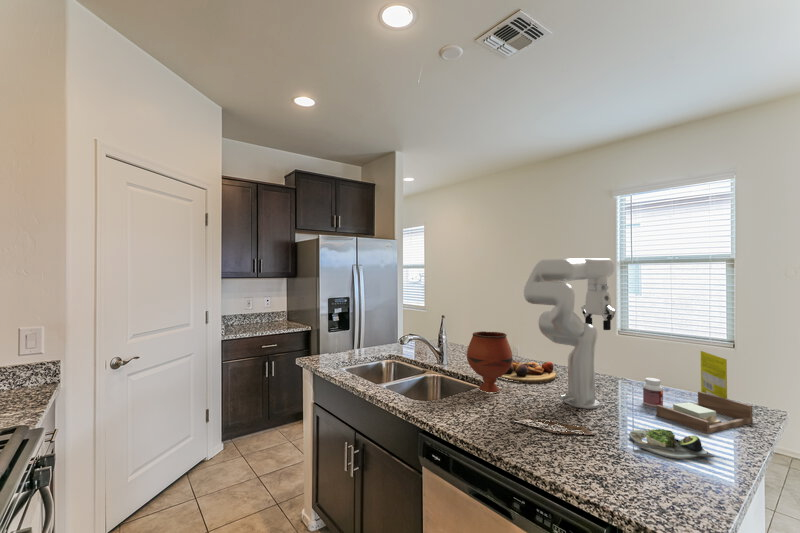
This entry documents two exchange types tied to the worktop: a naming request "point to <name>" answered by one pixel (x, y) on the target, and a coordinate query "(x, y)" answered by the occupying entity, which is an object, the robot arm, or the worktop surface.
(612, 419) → the worktop surface
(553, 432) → the wooden fragment
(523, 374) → the wooden plate with food
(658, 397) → the pill bottle
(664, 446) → the salad plate
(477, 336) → the goblet
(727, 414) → the walnut rack
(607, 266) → the robot arm
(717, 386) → the food package
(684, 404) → the sage painted offcut
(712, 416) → the ash offcut
